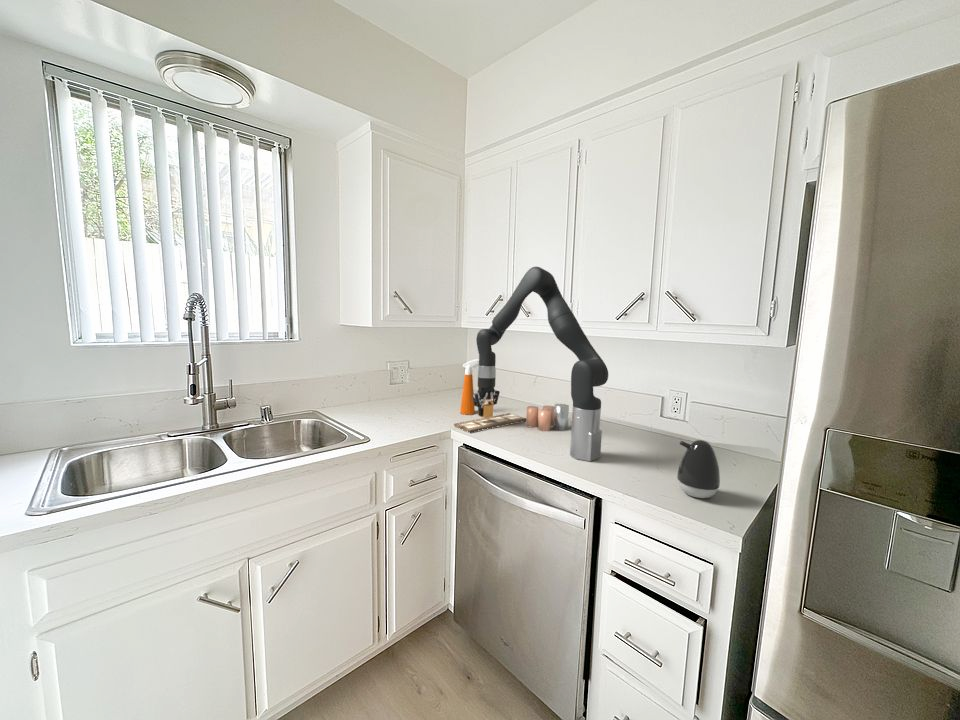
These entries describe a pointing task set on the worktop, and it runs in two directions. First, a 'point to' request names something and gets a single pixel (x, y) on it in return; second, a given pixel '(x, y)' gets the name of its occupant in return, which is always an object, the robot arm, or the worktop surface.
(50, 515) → the worktop surface
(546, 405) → the tan cylinder
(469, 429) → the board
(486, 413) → the block
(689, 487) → the pump dispenser
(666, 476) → the worktop surface
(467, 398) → the spray bottle
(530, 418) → the tan cylinder
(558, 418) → the grey tin
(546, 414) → the tan cylinder
